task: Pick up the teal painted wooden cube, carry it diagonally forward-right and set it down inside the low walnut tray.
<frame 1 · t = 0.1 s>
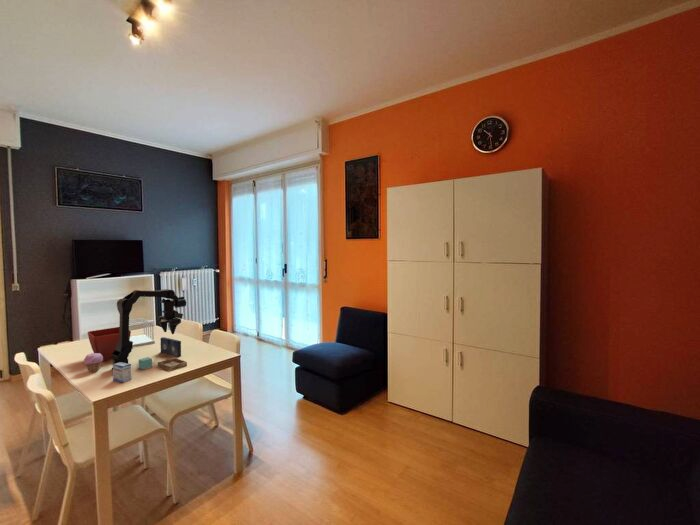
hand: (169, 333, 215), 15 cm above the table, fingers open, 9 cm apart
cupcake: (93, 371, 188), on the table
cube: (145, 367, 194), on the table
medicine box: (122, 380, 175), on the table
plant pot: (110, 357, 211), on the table
vhs cassette tape: (170, 354, 218), on the table
tray: (172, 365, 196), on the table
file sorter: (136, 342, 246), on the table
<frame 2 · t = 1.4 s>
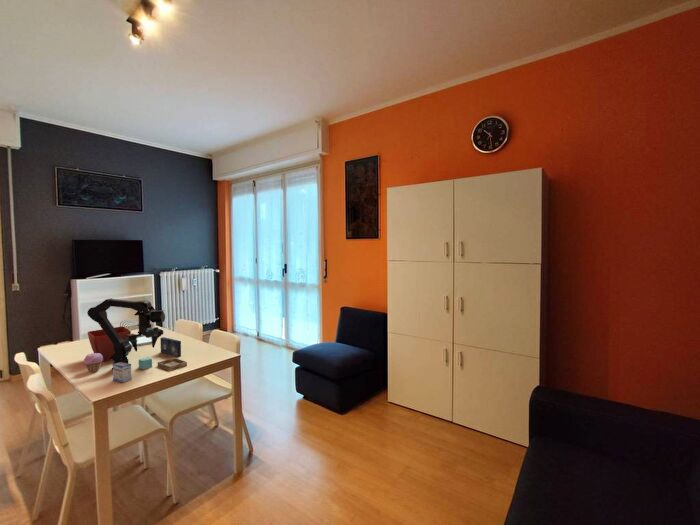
hand: (144, 349, 193), 11 cm above the table, fingers open, 9 cm apart
nothing on the table moved.
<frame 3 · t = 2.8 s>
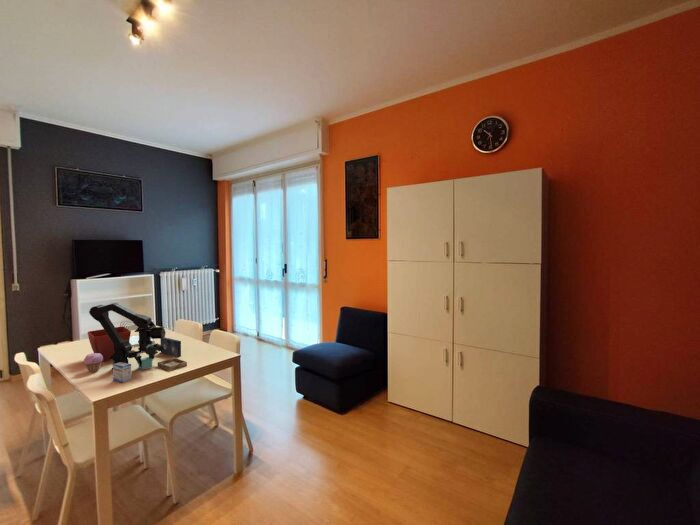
hand: (145, 365, 194), 1 cm above the table, fingers closed on cube, 5 cm apart
cube: (145, 367, 194), on the table, touching gripper
everything else where it was.
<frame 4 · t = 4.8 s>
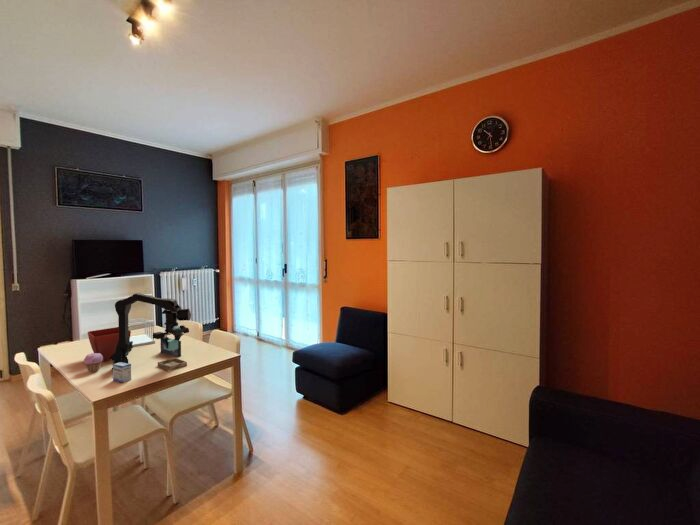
hand: (171, 347, 196), 11 cm above the table, fingers closed on cube, 5 cm apart
cube: (171, 349, 196), point 10 cm above the table, touching gripper
everything else where it was.
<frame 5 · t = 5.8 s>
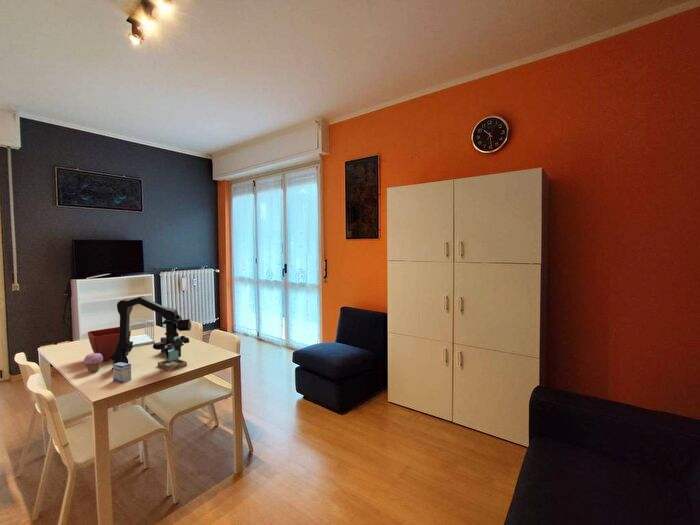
hand: (171, 357, 196), 5 cm above the table, fingers closed on cube, 5 cm apart
cube: (172, 359, 196), point 4 cm above the table, touching gripper
everything else where it was.
when the fingers open (3 cm above the table, at t = 6.6 s): cube drops 1 cm, resting on tray.
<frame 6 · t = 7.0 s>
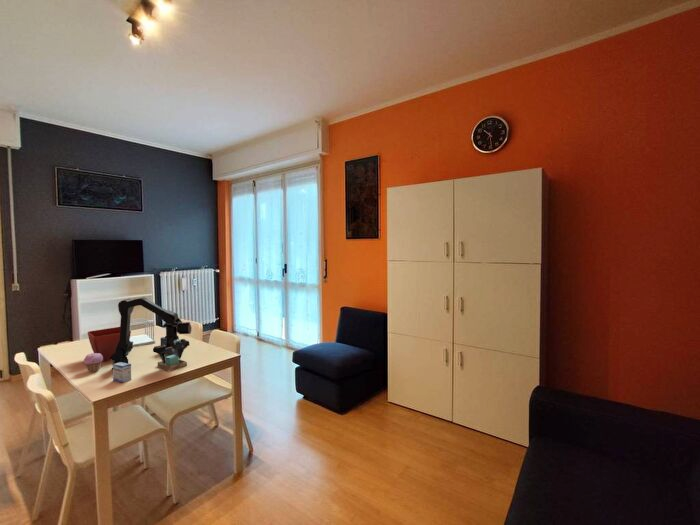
hand: (172, 360, 196), 3 cm above the table, fingers open, 9 cm apart
cube: (172, 364, 196), point 1 cm above the table, touching tray
everything else where it was.
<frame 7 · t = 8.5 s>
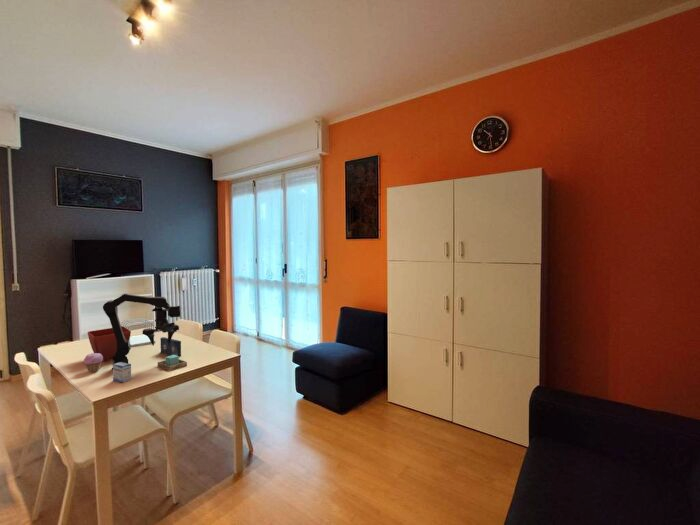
hand: (161, 343, 201), 12 cm above the table, fingers open, 9 cm apart
nothing on the table moved.
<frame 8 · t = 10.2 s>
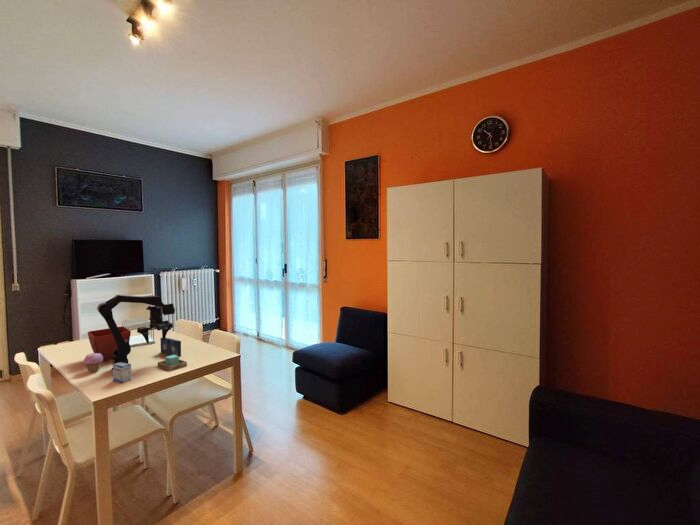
hand: (155, 341, 204), 12 cm above the table, fingers open, 9 cm apart
nothing on the table moved.
at the end: cube inside the target area on the tray (0.0 cm from its centre), point 0.6 cm above the tray's base; the gripper is holding nothing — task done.
